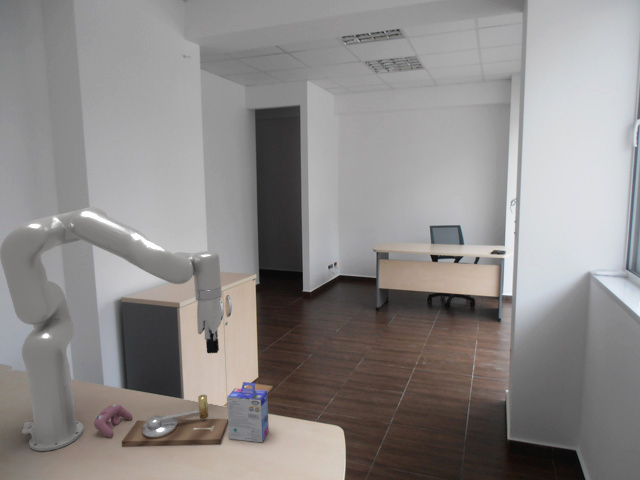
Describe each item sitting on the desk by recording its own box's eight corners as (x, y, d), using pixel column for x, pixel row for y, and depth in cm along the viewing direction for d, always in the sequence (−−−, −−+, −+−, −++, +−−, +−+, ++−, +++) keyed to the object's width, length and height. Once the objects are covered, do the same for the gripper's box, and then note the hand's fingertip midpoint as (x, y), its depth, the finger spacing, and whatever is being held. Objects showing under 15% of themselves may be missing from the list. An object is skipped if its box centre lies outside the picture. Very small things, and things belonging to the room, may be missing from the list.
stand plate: (122, 446, 110) (121, 441, 110) (137, 425, 120) (137, 420, 119) (220, 444, 110) (220, 438, 110) (228, 423, 120) (228, 418, 119)
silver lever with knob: (141, 441, 109) (139, 417, 108) (142, 423, 118) (140, 400, 117) (209, 426, 115) (208, 403, 114) (206, 410, 124) (205, 388, 123)
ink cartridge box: (270, 431, 116) (267, 381, 114) (263, 443, 110) (261, 392, 108) (236, 427, 118) (233, 379, 115) (228, 439, 112) (225, 388, 110)
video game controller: (123, 422, 124) (112, 402, 124) (135, 417, 123) (123, 396, 123) (100, 443, 114) (87, 421, 114) (112, 437, 113) (100, 415, 113)
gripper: (202, 287, 131) (207, 342, 134) (188, 301, 116) (193, 363, 119) (226, 286, 131) (230, 342, 134) (215, 300, 116) (219, 362, 119)
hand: (213, 351), depth 126 cm, fingers closed
